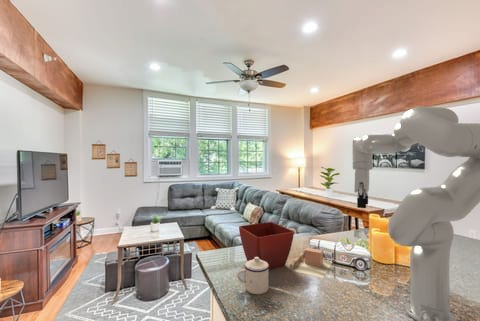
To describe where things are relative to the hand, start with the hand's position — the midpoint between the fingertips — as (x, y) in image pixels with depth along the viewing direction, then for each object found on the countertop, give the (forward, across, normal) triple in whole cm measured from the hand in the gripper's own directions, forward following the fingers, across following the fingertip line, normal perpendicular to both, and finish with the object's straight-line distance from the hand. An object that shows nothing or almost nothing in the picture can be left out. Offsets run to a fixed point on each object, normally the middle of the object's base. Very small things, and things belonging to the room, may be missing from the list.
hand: (362, 205), depth 103 cm
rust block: (+27, +4, -20) cm, 34 cm away
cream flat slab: (+28, +6, -20) cm, 35 cm away
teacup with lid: (+28, +36, -34) cm, 57 cm away
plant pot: (+29, +15, -39) cm, 51 cm away
